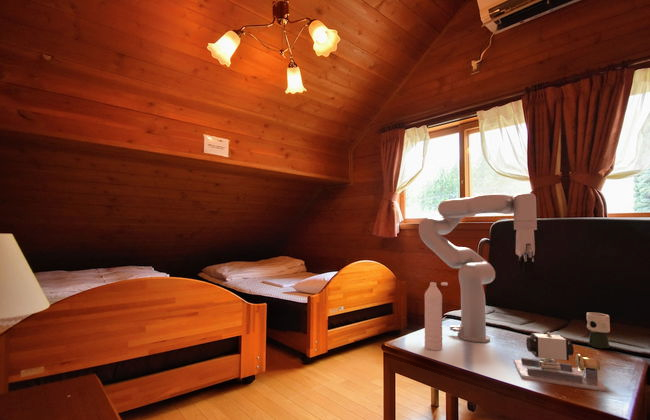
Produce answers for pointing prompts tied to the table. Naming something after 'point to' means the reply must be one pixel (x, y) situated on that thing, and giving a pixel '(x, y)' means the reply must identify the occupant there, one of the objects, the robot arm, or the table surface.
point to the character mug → (598, 329)
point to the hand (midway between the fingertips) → (526, 271)
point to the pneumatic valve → (549, 349)
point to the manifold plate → (563, 373)
